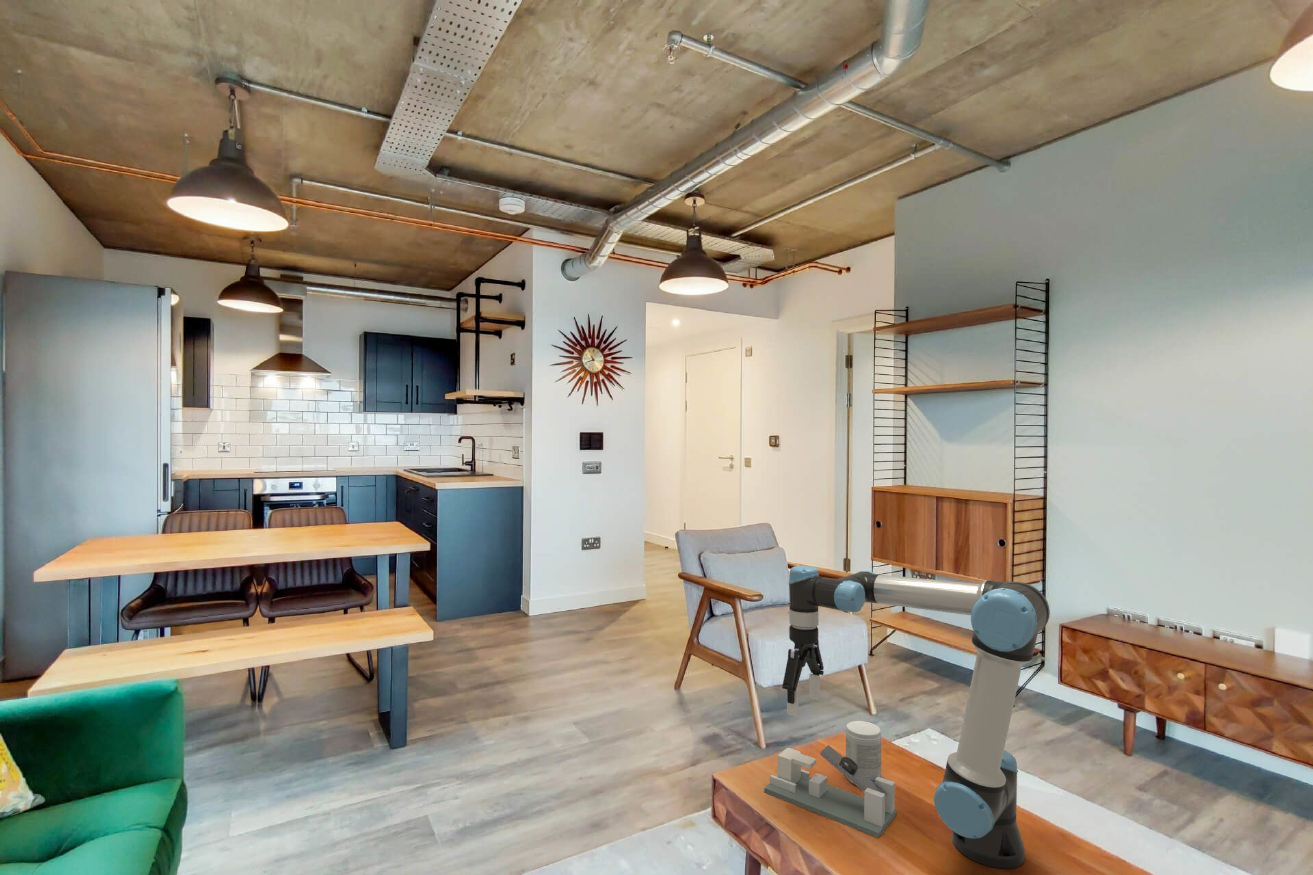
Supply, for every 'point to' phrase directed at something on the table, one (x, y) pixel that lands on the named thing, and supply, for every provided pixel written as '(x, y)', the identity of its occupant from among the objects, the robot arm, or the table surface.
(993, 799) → the robot arm
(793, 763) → the block
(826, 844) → the table surface
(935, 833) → the table surface
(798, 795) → the mount
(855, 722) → the supplement tub
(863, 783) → the grey long flat bar
